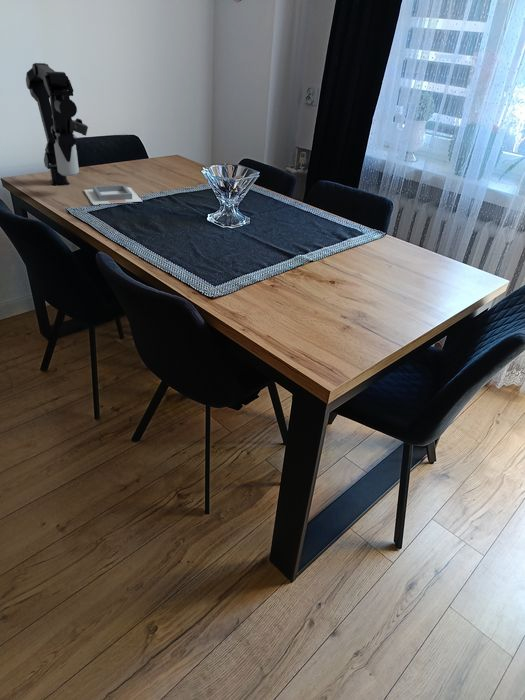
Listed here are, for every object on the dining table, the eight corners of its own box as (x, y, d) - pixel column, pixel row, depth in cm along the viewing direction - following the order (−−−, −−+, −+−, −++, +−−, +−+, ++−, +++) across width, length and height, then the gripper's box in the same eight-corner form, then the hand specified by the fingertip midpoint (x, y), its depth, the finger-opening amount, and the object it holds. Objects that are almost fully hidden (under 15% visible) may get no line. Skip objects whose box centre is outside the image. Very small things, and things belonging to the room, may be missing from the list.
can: (82, 172, 188) (78, 139, 181) (74, 177, 182) (69, 143, 175) (63, 170, 188) (58, 136, 182) (54, 175, 182) (49, 140, 175)
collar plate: (84, 191, 193) (83, 184, 191) (130, 188, 200) (129, 182, 199) (93, 205, 180) (92, 198, 178) (142, 202, 187) (142, 195, 186)
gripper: (89, 117, 170) (94, 164, 179) (79, 108, 183) (84, 152, 192) (55, 117, 165) (61, 165, 174) (47, 107, 179) (54, 153, 188)
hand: (66, 158), depth 182 cm, fingers closed on can, 7 cm apart
